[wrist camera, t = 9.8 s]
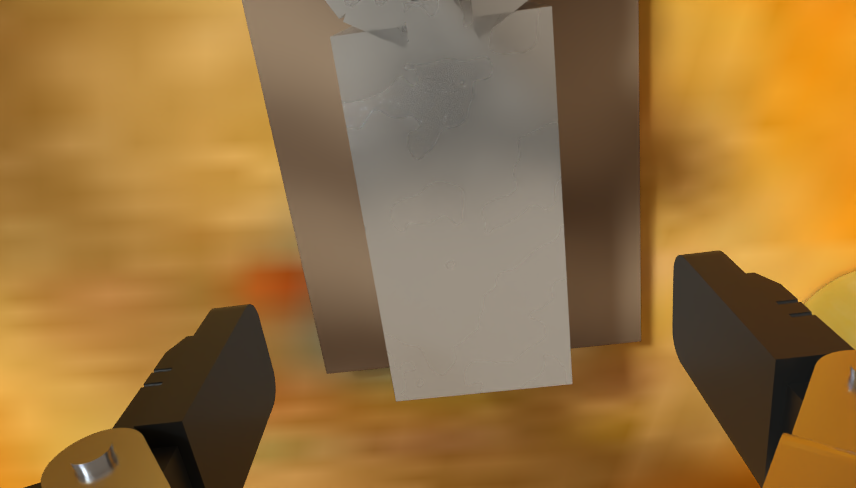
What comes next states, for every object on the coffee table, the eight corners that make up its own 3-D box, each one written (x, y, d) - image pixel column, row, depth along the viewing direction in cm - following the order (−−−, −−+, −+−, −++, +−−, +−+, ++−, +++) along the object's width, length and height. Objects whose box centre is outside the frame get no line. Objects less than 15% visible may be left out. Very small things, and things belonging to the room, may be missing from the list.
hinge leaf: (295, -200, 16) (251, -254, 12) (533, -239, 16) (561, -308, 12) (389, 332, 22) (378, 403, 18) (564, 313, 21) (590, 382, 18)
